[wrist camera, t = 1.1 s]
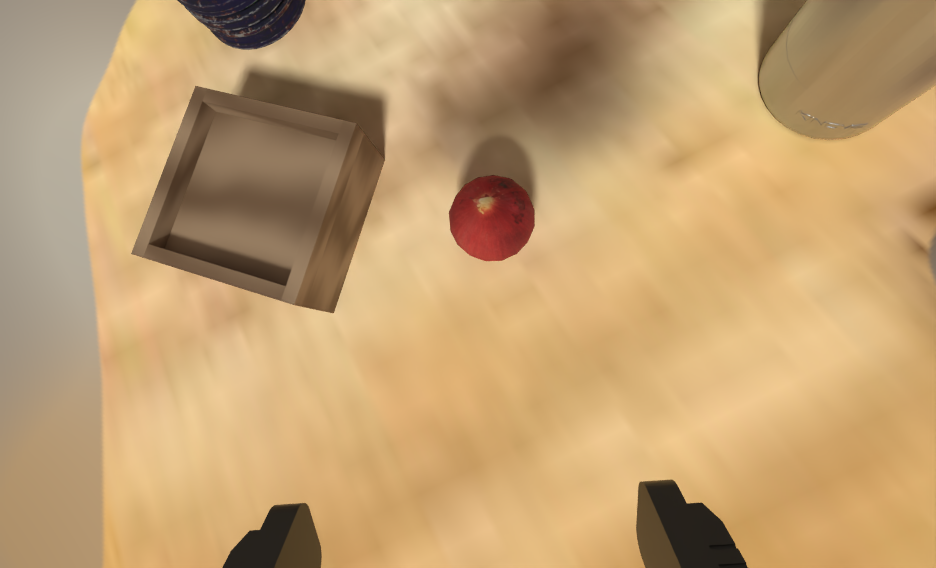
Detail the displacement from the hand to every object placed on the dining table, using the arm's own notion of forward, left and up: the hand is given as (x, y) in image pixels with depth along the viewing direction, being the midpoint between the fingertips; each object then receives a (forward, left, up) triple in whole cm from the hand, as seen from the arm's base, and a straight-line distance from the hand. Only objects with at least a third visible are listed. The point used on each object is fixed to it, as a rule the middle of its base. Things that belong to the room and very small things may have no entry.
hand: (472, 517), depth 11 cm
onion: (-12, -5, -23) cm, 27 cm away
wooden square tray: (-9, -22, -23) cm, 33 cm away
